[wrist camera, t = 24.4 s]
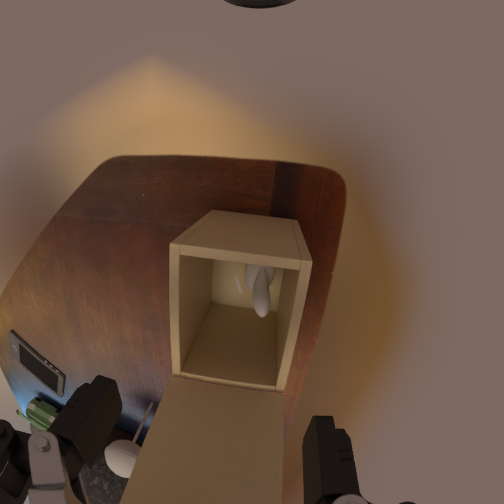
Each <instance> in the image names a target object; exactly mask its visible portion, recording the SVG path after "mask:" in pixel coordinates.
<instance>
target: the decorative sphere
mask: <svg viewBox="0 0 504 504" xmlns="http://www.w3.org/2000/svg"><path fill="white" fill-rule="evenodd" d="M133 439H134V436H133V435H131V434H129V433H126V432H124V431H121V430H118V429H114V428H113V430H112V431H111V433H110V435H109V437H108V439H107V441H106V443H105V445H104V446H103V448H102V450H101V452H100V454H99V456H98V458H97V460H96V462H95V464H94V466H93V468H92V470H90V469H88V468H85V467H82V469H81V470H80V473H81V476H82V480H83V483H84V487H85V490H86V493H87V497H88V500H89V503H90V504H119V503H120V501H121V498H122V495H123V493H124V490H125V488H126V485H127V483H128V480H129V478H124V477H121V476H119V475H117V474H115V473H114V472H113V471H112V470H111V469H110V468H109V466H108V465H107V463H106V459H105V449H106V447H107V446H109V445H110V444H111V443H112V442H114V441H117V440H129V441H133ZM135 443H136V444H137V445H138V446H140V447H142V445H143V442H142V441H140V440H139V439H137V440H136V442H135Z"/></svg>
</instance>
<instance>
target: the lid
mask: <svg viewBox="0 0 504 504" xmlns="http://www.w3.org/2000/svg"><path fill="white" fill-rule="evenodd" d="M283 441H284V394H274V393H264V392H256V391H248V390H240V389H233V388H227V387H221V386H215V385H209V384H203V383H198V382H193V381H188V380H183V379H178V378H174V377H171V378H170V380H169V382H168V385H167V387H166V390H165V392H164V394H163V397H162V399H161V401H160V404H159V406H158V408H157V411H156V413H155V416H154V418H153V420H152V423H151V425H150V428H149V430H148V433H147V435H146V437H145V440H144V442H143V445H142V447H141V450H140V452H139V455H138V457H137V460H136V462H135V465H134V467H133V470H132V472H131V475H130V477H129V480H128V483H127V485H126V488H125V490H124V493H123V495H122V498H121V501H120V503H119V504H282V502H281V501H282V478H283Z"/></svg>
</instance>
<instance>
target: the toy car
mask: <svg viewBox="0 0 504 504" xmlns="http://www.w3.org/2000/svg"><path fill="white" fill-rule="evenodd" d="M16 412H17V414H18V415H20V416H22V417H23V418H25V419H26V420H28V421H29V422H30V429H31V433H32V434H33V433H35V432H37V431H41V430H44V431H46V430H47V429H48V428H49V427H50V425H51V424H52V422H53V421H54V420H55V418H56V417H57V415H58V414H59V413H60V410H58V409H56V408H55V407H53V406H51V405H50V404H48V403H46V402H45V401H43V400H41V399H40V398H38V397H35V398H34V399H33V400H31V401H30V402H29V404H28V406H27V409H26V414H27V417H28V418H29V419H28V418H27V417H25V416H24V415H23V414H21V413H20V412H19V411H18V410H17V411H16Z"/></svg>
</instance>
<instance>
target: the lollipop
mask: <svg viewBox="0 0 504 504" xmlns="http://www.w3.org/2000/svg"><path fill="white" fill-rule="evenodd" d="M152 405H153V402H151V403H150V405H149V407H148V409H147V411H146V413H145V416H144V418H143V420H142V422H141V424H140V426H139V428H138V430H137V432H136V435H135V437H134V439H133V441H129V440H117V441H114V442H112V443H111V444H110V445H109V446H107V447H106V449H105V459H106V463H107V465H108V466H109V468H110V469H111V470H112V471H113V472H114V473H115V474H117V475H119V476H121V477H124V478H129V477H130V475H131V472H132V470H133V467H134V465H135V462H136V460H137V457H138V455H139V452H140V450H141V447H140V446H138V445H137V444H136V443H135V442H136V440H137V438H138V436H139V433H140V431H141V429H142V427H143V425H144V423H145V420H146V418H147V416H148V414H149V412H150V410H151V408H152Z"/></svg>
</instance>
